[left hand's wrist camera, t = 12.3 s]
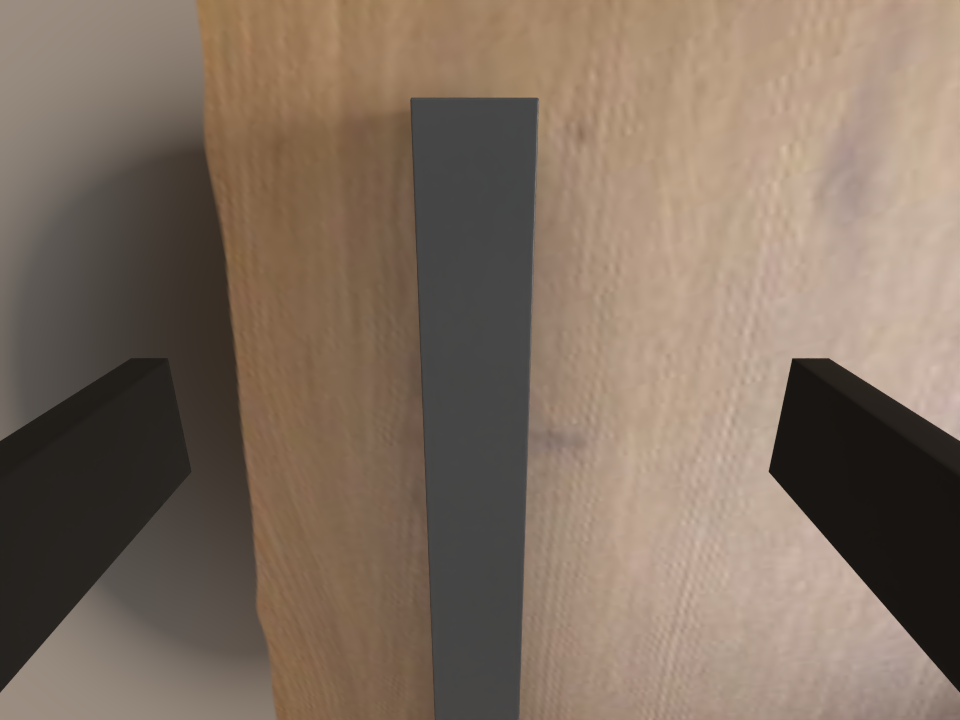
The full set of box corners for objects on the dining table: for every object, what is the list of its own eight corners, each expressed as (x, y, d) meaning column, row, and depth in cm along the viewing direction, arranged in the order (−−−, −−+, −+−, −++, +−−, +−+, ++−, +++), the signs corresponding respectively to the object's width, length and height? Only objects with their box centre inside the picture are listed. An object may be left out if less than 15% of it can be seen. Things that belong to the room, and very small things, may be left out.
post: (425, 109, 31) (410, 97, 23) (522, 108, 31) (539, 97, 24) (449, 873, 55) (445, 994, 47) (504, 872, 55) (510, 992, 47)
